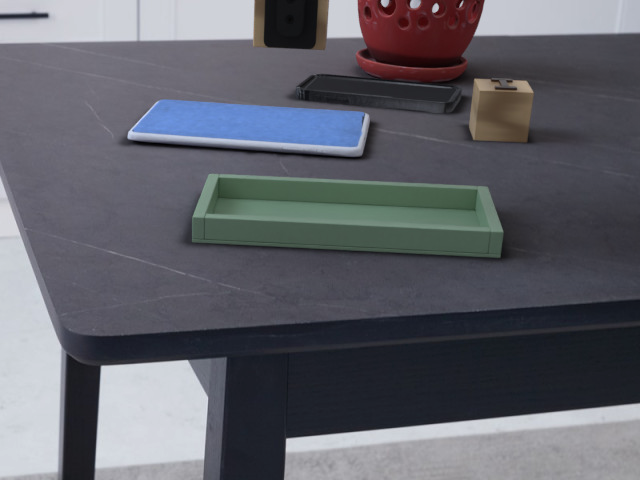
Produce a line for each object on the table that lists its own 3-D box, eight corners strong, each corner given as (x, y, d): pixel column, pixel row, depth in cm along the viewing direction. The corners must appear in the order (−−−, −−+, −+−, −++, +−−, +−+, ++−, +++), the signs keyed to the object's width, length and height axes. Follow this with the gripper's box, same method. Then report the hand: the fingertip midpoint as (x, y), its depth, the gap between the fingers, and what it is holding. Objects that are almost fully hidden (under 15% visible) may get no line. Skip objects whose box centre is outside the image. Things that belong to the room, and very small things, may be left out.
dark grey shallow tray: (314, 72, 116) (463, 85, 112) (313, 84, 116) (462, 97, 112) (292, 89, 109) (451, 103, 105) (292, 101, 110) (450, 115, 106)
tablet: (370, 124, 103) (371, 109, 102) (361, 163, 92) (362, 146, 91) (158, 112, 105) (157, 97, 105) (124, 148, 94) (124, 132, 94)
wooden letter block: (519, 132, 102) (527, 78, 99) (526, 145, 98) (534, 89, 95) (468, 130, 102) (474, 76, 100) (473, 143, 98) (479, 87, 96)
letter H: (326, 37, 75) (331, -39, 73) (325, 50, 71) (330, -30, 69) (258, 34, 76) (260, -42, 73) (252, 47, 72) (255, -33, 70)
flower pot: (403, 95, 113) (414, -34, 108) (327, 69, 123) (334, -50, 118) (503, 82, 119) (519, -40, 114) (423, 59, 129) (434, -55, 124)
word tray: (484, 213, 81) (487, 186, 80) (499, 262, 73) (504, 231, 72) (208, 200, 83) (208, 173, 82) (191, 246, 74) (191, 216, 73)
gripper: (375, -305, 57) (349, 69, 66) (372, -283, 72) (351, 20, 81) (225, -308, 58) (219, 63, 66) (252, -286, 73) (244, 15, 81)
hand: (291, 36), depth 73 cm, fingers closed on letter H, 4 cm apart
